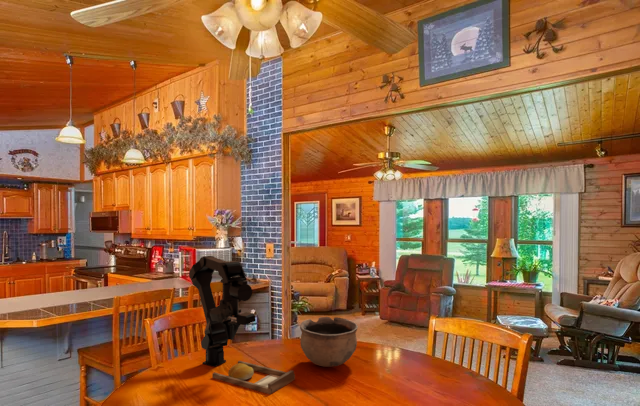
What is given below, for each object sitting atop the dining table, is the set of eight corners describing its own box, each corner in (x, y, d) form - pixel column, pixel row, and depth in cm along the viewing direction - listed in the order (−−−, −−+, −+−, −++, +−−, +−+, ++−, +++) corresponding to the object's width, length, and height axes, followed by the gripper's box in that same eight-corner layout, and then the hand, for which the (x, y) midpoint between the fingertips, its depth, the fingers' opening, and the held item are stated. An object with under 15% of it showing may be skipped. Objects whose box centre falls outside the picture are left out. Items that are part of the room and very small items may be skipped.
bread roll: (237, 383, 141) (237, 371, 141) (225, 376, 148) (224, 364, 148) (258, 376, 146) (258, 364, 147) (246, 369, 153) (245, 358, 153)
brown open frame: (212, 378, 146) (212, 369, 146) (239, 365, 158) (239, 356, 158) (270, 395, 133) (270, 385, 133) (294, 379, 146) (294, 370, 146)
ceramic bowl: (345, 350, 174) (345, 314, 174) (367, 370, 154) (367, 329, 154) (293, 356, 167) (293, 319, 167) (309, 378, 147) (309, 335, 147)
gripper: (195, 297, 149) (195, 341, 149) (234, 303, 140) (234, 350, 140) (217, 292, 159) (217, 333, 159) (256, 297, 149) (256, 341, 149)
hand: (230, 339), depth 151 cm, fingers closed
